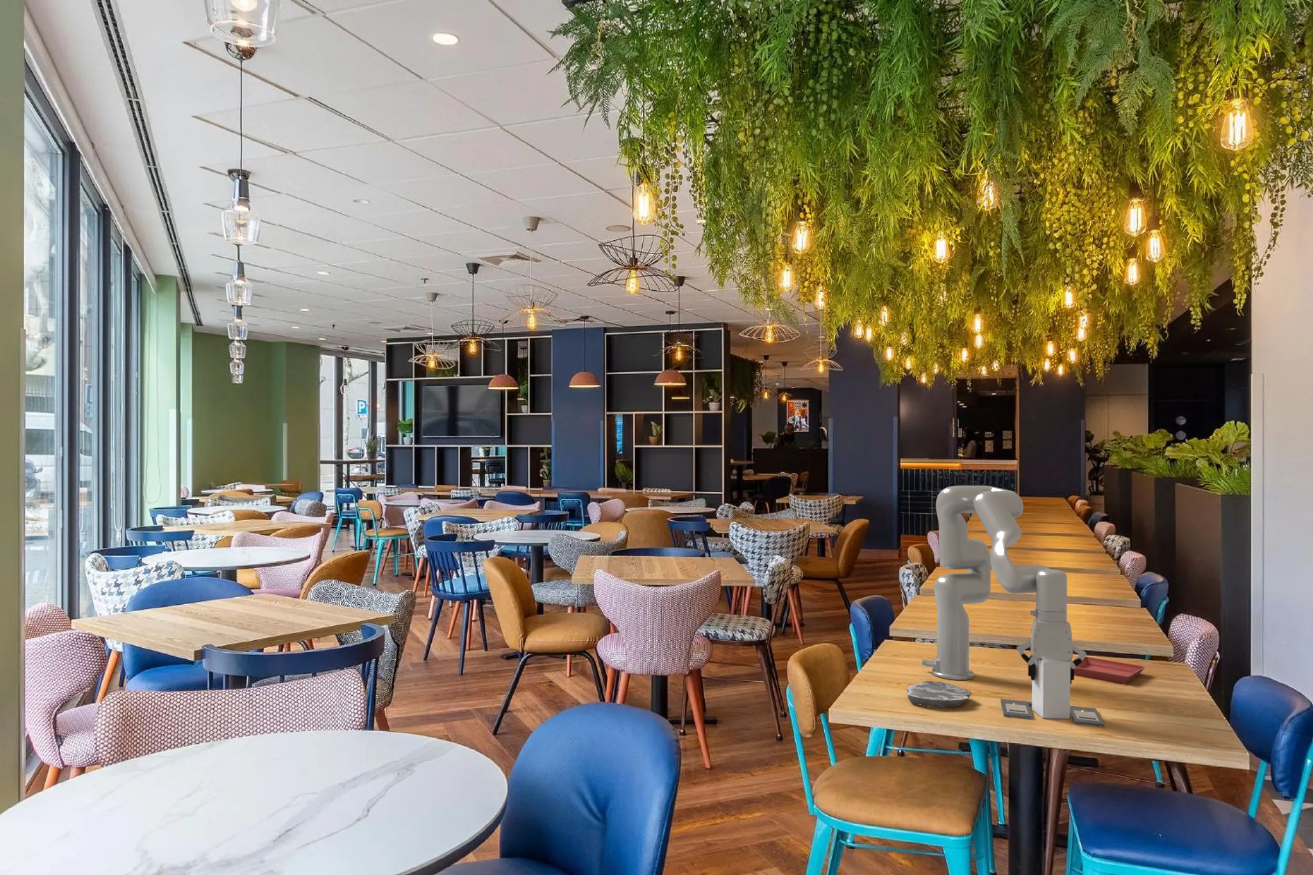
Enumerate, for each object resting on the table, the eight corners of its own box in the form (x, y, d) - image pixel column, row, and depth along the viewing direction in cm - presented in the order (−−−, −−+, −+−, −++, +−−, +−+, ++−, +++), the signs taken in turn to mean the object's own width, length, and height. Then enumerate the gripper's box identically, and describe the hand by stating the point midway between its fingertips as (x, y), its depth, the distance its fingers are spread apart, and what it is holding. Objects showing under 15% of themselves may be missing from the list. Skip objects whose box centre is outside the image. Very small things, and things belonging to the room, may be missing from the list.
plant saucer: (1084, 665, 282) (1084, 655, 282) (1145, 676, 270) (1145, 665, 270) (1065, 675, 269) (1066, 665, 269) (1128, 687, 257) (1128, 676, 257)
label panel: (1003, 716, 226) (1004, 712, 226) (1000, 701, 240) (1000, 698, 240) (1104, 726, 219) (1104, 723, 219) (1095, 710, 232) (1095, 707, 232)
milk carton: (1070, 719, 225) (1070, 647, 225) (1043, 718, 225) (1043, 646, 225) (1058, 710, 232) (1058, 641, 232) (1031, 710, 232) (1032, 640, 232)
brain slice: (962, 716, 227) (962, 704, 227) (899, 705, 236) (899, 694, 236) (977, 697, 244) (977, 687, 244) (917, 688, 253) (917, 678, 253)
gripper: (1017, 616, 228) (1017, 681, 227) (1089, 621, 222) (1089, 687, 222) (1015, 611, 235) (1014, 674, 235) (1084, 615, 229) (1084, 680, 229)
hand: (1050, 680), depth 228 cm, fingers closed on milk carton, 8 cm apart
